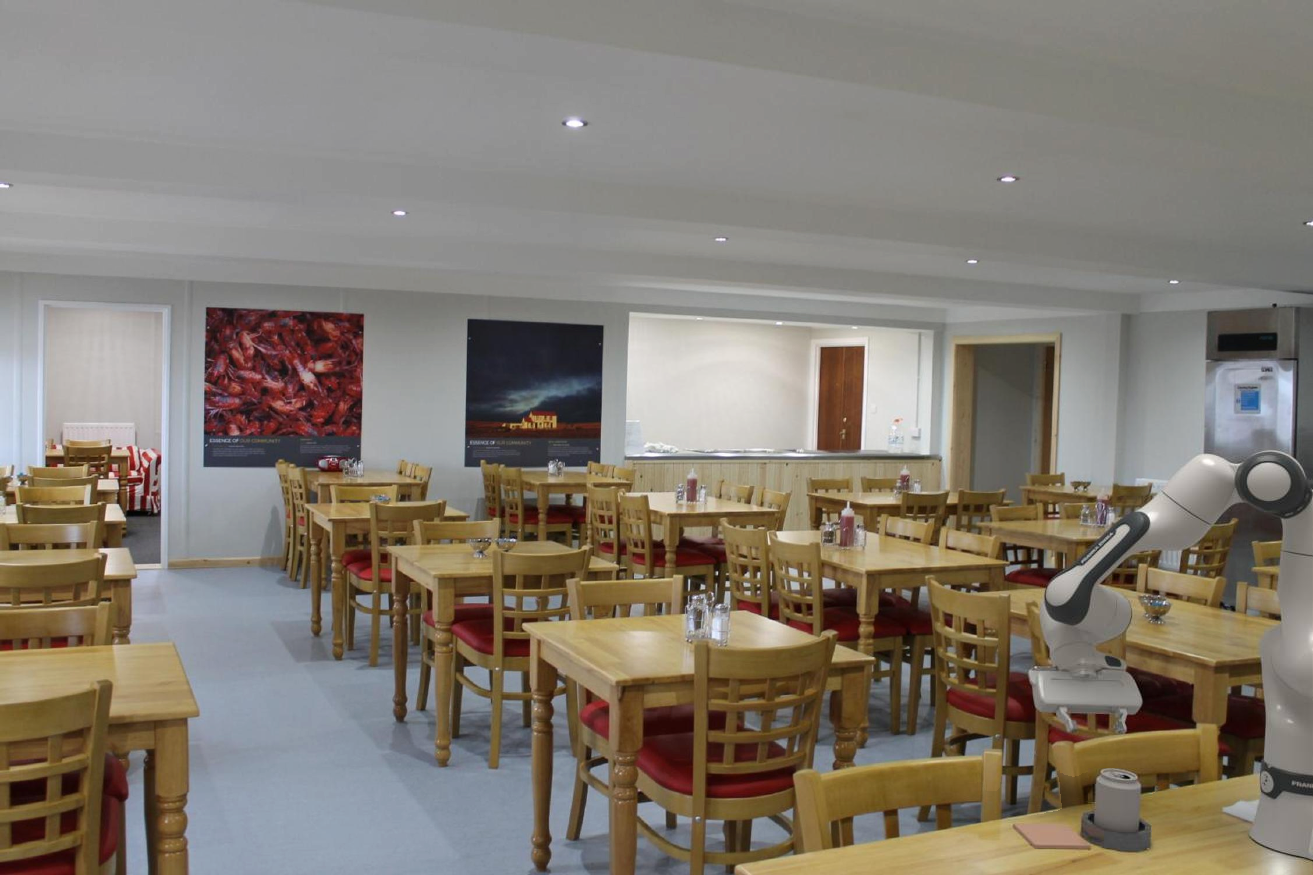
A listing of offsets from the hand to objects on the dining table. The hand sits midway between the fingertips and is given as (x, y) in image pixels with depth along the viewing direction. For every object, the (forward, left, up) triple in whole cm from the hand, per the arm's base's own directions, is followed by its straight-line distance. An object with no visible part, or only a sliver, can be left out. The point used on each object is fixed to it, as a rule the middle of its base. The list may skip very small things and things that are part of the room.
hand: (1097, 731), depth 212 cm
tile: (+12, +9, -17) cm, 23 cm away
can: (0, +9, -17) cm, 19 cm away
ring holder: (0, +9, -17) cm, 19 cm away
